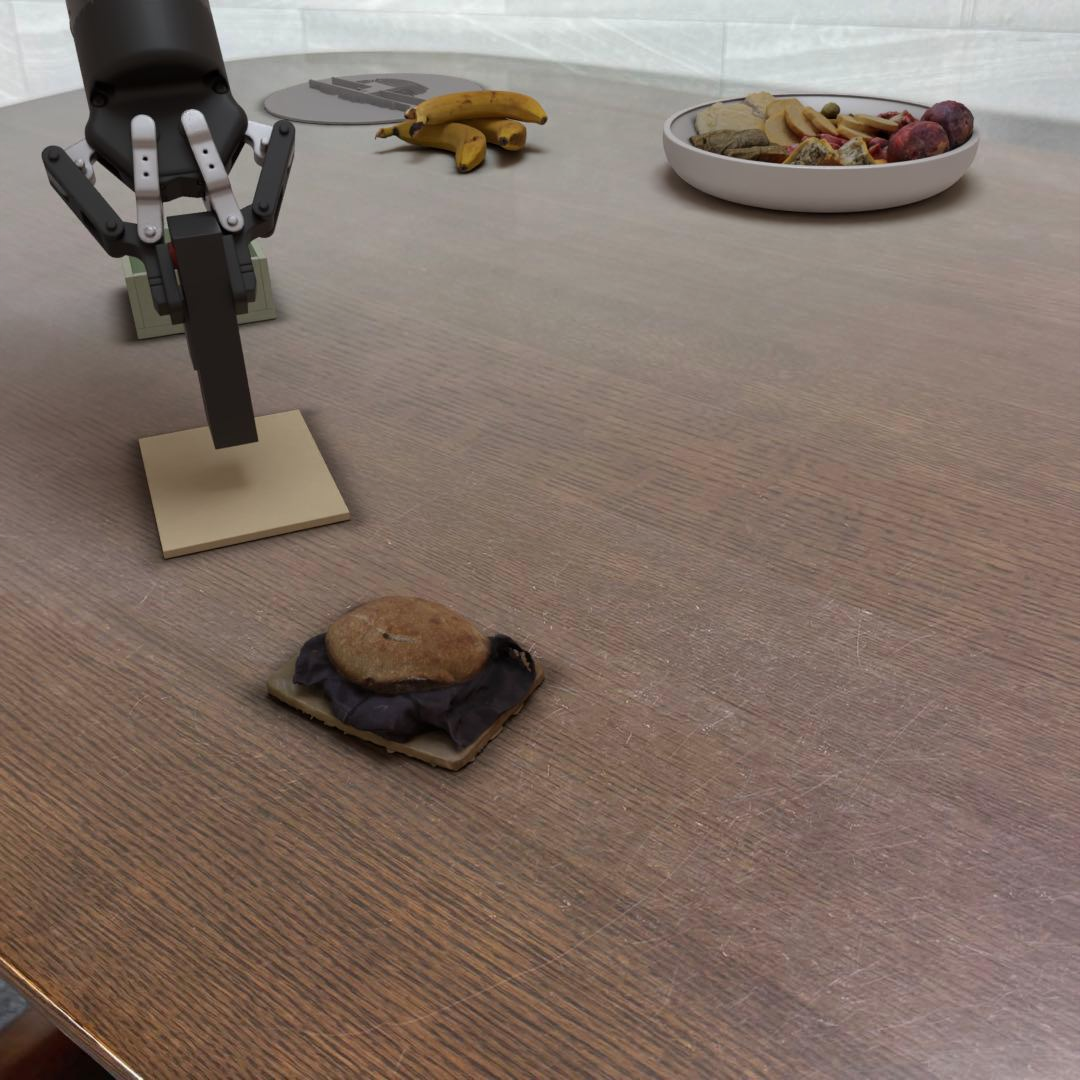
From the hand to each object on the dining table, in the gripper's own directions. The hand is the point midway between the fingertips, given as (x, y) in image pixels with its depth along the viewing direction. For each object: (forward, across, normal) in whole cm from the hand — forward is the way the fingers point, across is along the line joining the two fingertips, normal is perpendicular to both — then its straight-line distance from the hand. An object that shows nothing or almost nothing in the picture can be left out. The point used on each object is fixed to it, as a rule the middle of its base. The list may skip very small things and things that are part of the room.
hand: (210, 311), depth 63 cm
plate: (-61, +31, +78) cm, 103 cm away
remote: (+4, 0, +7) cm, 8 cm away
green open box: (-15, +1, +31) cm, 34 cm away
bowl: (-22, +62, +38) cm, 76 cm away
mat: (+6, 0, +9) cm, 11 cm away
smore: (+22, +4, -6) cm, 23 cm away
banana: (-39, +33, +55) cm, 75 cm away
